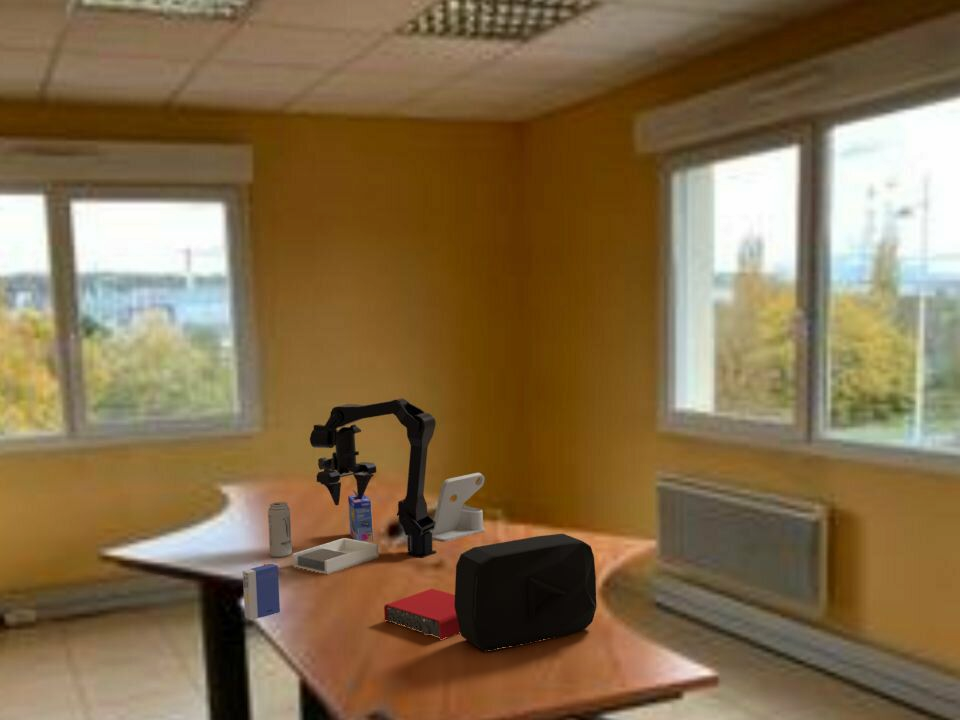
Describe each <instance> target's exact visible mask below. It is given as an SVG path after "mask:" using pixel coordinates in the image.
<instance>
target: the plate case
mask: <svg viewBox="0 0 960 720" xmlns="http://www.w3.org/2000/svg"><path fill="white" fill-rule="evenodd" d="M322 548H323V549H327V550H332V551H337V552H342V553H347V554H344V555H341V556H338V557H335V558H331V559H328V560H325V561H324V565H325V571H321V570H317V569H312V568H308V567H303V566H299V565H298V556H300V555H303V554H306V553H309V552H313V551H316V550H319V549H322ZM291 554H292V555H291V556H292V557H291V558H292V559H291V560H292V567H293V566H295V567H294V568H296V567H299V568H298V569H300V568H303V569H302V570H304V569H307V570H306V571H309V570H311V571H310V572H313V571H315V572H314V573H317V572H319V573H318V574H321V573H325V574H324V575H326V574H328V575H330V574H329V573H331V574H333V573H332V572H334V571H337V572H339V571H338V570H340V571H342V570H341V569H343V570H345V569H344V568H346V569H349V568H351V567H350V566H352V567H355V566H358V565H361V564H364V563H366V562H370V561H373V560H375V558H376V559H379V558H378V557H379V544H378V543H374V542H368V541H358V540H355V539H354V538H353V539H351V538H346V537H342V538H340V539H336V540H333V541H330V542H326V543H323V544H319V545H317V546H314V547H310V548H308V549H307V548H306V549H304V550H301V551H297V552H295V553H291ZM372 559H373V560H372ZM363 562H364V563H363ZM354 565H355V566H354ZM348 567H349V568H348ZM334 573H335V572H334Z"/></svg>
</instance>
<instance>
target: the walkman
mask: <svg viewBox="0 0 960 720" xmlns="http://www.w3.org/2000/svg"><path fill="white" fill-rule="evenodd" d="M242 580H243V582H242V583H243V586H242V587H243V601H244V602H243V603H244V618H245V619H246V620H248V621H254V620H256V619H257V620H258V619H261V618H264V617H268V616H271V615H276V614H279V613H280V612H281V610H280V609H281V606H280V584H279V583H280V582H279V566H278V565H277V564H274V563H269V562H268V563H263V565H260V566H256V567H252V568H248V569H247V568H246V569H244V570H242ZM278 612H279V613H278ZM275 613H276V614H275Z"/></svg>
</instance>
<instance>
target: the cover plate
mask: <svg viewBox="0 0 960 720" xmlns="http://www.w3.org/2000/svg"><path fill="white" fill-rule="evenodd" d="M344 554H347V553H342V552H337V551H332V550H327V549H323V548H322V549H319V550H316V551H313V552H309V553H306V554H303V555H300V556H298V565H299V566H303V567H308V568H312V569H317V570H321V571H325V565H324V561H325V560H328V559H331V558H335V557H338V556H341V555H344Z"/></svg>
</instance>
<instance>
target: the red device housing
mask: <svg viewBox="0 0 960 720" xmlns="http://www.w3.org/2000/svg"><path fill="white" fill-rule="evenodd" d="M454 604H455V594H453V593H449V592H445V591H442V590H440V589H439V590H438V589H434V588H430V589H426V590H424V591H421V592H418V593H415V594H412V595H409V596H407V597H403V598H401V599H397V600H395V601H392V602H390V603H386V604H384V606H383V614H384V621H385V620H388V621H391V622H392V621H393V622H394V623H397V624H400V625H401V624H402V625H405V626H406V627H410V628H413V629H416V630H419V631H422V633H421V634H423V633H425V634H433V635H435V636H438V637H440V639H443V638H445V637H449V636H451V637H453V636H452V635H454V634H456V635H458V634H457V633H459V632H460V628H459V624H458V620H457V616H456V611H455V607H454ZM459 634H460V633H459ZM454 636H455V635H454ZM449 638H450V637H449ZM440 639H439V640H440Z"/></svg>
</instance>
